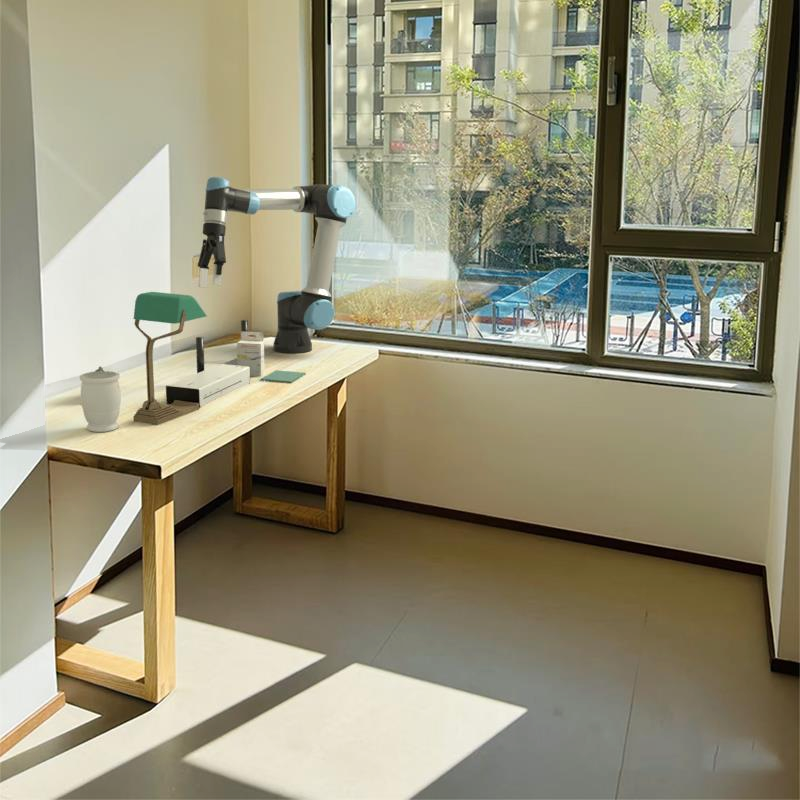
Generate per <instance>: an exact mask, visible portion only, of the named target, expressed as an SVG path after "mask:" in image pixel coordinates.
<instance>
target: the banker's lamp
mask: <svg viewBox="0 0 800 800" xmlns="http://www.w3.org/2000/svg"><path fill="white" fill-rule="evenodd" d="M134 301H135V302H134V309H133V311H134V312H133V320H134V326H135V328H136V329H137V330H138V331H139V332H140V333H141V334H142V335H143V336H144V337H145V338H146V340H147V341H146V346H145V361H146V362H145V365H146V366H145V367H146V368H145V369H146V388H147V389H146V392H147V393H146V394H147V400H144V402H143V403H142V405H141V407H140V408H139V409H137V410H136V411H135V413H134V415H133V416H132V417H133V422H137V423H143V424H144V423H145V424H150V425H155V426H159V425H162V424H166V423H167V422H170V421H172V420H174V419H178V418H180V417H183V416H186V415H188V414H190V413H193V412H196V411H199V410H200V408H199V403H192V402H186V401H179V400H175V401H174V402H173V403H171V404H164V403H160V402H159V401H158V400H157V399H155V379H154V363H153V362H154V359H153V355H154V353H153V350H154V344H155V342H156V341H158V340H161V339H165V338H168V337H171V336H176V335H179V334H181V333H183V331H184V327H185V326H184V325H185V322H189V321H192V320H197V319H201V318H206V317H208V315H207V314H206V312H205V310H203V308H202V307H201V305H200V304H199V303H198V301H197V299H196V298H194V297H193V296H192V295H187V294H177V293H170V292H158V291H157V292H156V291H149V292H148V291H147V292H143V293H139V294H138V295H137V296H136V298H135V300H134ZM140 321H149V322H156V323H157V322H158V323H166V324H172V325H173V324H174V325H175V324H179V327H178V329H176V330H175V331H171V332H168V333H165V334H163V335H159V336H156V337H154V338H152V337H150V336H149V334H147V333H146V332H145V331H143V330H142V329H141V328H140V326H139V325H140Z"/></svg>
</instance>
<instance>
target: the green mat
mask: <svg viewBox="0 0 800 800" xmlns="http://www.w3.org/2000/svg"><path fill="white" fill-rule="evenodd" d="M303 375H304V376H306V372H302V371H301V372H300V371H291V370H290V371H289V370H277V369H276V370H274V371H272V372H271V373H268V374H266V375H265V376H263V377H261V378H260V381H261V380H265V381H264V382H271V381H278V382H277V383H283V382H287V383H286V384H292V383H294V382H296V381H297V380H299V379H300V377H301V378H303ZM295 380H296V381H295Z"/></svg>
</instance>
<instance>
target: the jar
mask: <svg viewBox="0 0 800 800" xmlns="http://www.w3.org/2000/svg"><path fill="white" fill-rule="evenodd" d="M119 379H120V373H119V372H116V371H110V370H109V371H107V370H106V371H105V370H104V371H98V372H95V371H91V372H89V371H88V372H85V373H82V374H80V375H79V381H81V385H80V405H81V408H82V412H83V416H84V418H85V421H86V422H87V423H88V424H87V425H86V430H87V431H89V432H94V433H106V432H107V433H108V432H111V431H115V430H117V429H118V428H119V424H118V422H117V421H118V418H119V416H120V412H121V411H120V409H121V403H122V401H121V400H122V399H121V398H122V397H121V395H122V394H121V388H120V383H119Z"/></svg>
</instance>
